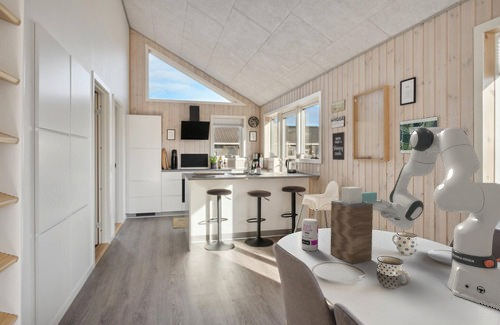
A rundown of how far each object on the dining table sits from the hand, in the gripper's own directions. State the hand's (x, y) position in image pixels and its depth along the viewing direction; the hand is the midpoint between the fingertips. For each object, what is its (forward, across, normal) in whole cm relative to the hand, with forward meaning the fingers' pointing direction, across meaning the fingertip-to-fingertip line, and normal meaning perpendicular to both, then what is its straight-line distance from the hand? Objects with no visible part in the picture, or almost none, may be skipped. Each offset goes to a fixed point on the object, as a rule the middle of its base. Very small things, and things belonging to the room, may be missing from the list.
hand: (373, 199), depth 146 cm
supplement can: (+8, -18, +35) cm, 40 cm away
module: (+7, 0, +5) cm, 9 cm away
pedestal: (-1, 0, +30) cm, 30 cm away
